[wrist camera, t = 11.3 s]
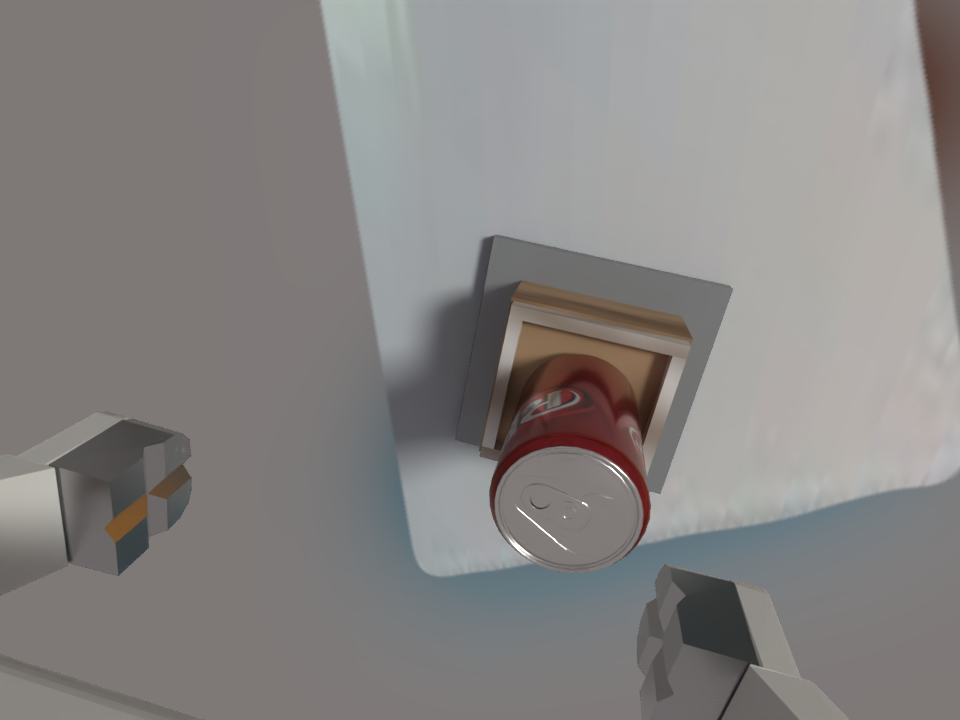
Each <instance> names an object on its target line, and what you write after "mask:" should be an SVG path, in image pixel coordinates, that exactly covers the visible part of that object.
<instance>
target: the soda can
mask: <svg viewBox="0 0 960 720" xmlns="http://www.w3.org/2000/svg"><path fill="white" fill-rule="evenodd" d="M489 495H490V508H491V512H492V516H493V519H494V521H495V523H496V526H497V528H498V530H499V532H500V533H501V534H502V536H503V537H504V539H505V540H506V541H507V543H508V544H509V545H511V546H512V547H513V548H514V549H515V550H516V551H517V552H518V553H519V554H520V555H522V556H523V557H525V558H526V559H528V560H529V561H531V562H533V563H535V564H537V565H539V566H541V567H544V568H547V569H550V570H554V571H557V572H566V573H587V572H591V571H596V570H600V569H602V568H605V567H607V566H610V565H612V564H615V563H616V562H618V561H619V560H621V559H622V558H624V557H625V556H627V555H628V554H629V553H630V552H631V551H632V550H633V549H634V548H635V547H636V546H637V544H638V543H639V541H640V540H641V538H642V536H643V535H644V533H645V531H646V528H647V525H648V522H649V520H650V509H651V503H650V496H649V489H648V481H647V474H646V467H645V459H644V452H643V445H642V437H641V430H640V423H639V415H638V408H637V401H636V396H635V393H634V391H633V388H632V386H631V384H630V383H629V381H628V380H627V378H626V376H625V375H624V374H623V373H622V372H621V371H620V370H619V369H618V368H616V367H615V366H613V365H612V364H610V363H609V362H607V361H605V360H603V359H600V358H598V357H595V356H591V355H586V354H568V355H562V356H559V357H556V358H553V359H550V360H549V361H547V362H545V363H543V364H542V365H540V366H539V367H538V368H537V369H536V370H535V371H534V372H533V373H532V374H531V375H530V377H529V378H528V379H527V381H526V383H525V385H524V387H523V389H522V392H521V395H520V398H519V400H518V403H517V406H516V409H515V412H514V415H513V418H512V421H511V424H510V427H509V430H508V433H507V436H506V439H505V442H504V445H503V448H502V451H501V453H500V456H499V459H498V462H497V465H496V468H495V471H494V474H493V477H492V481H491V486H490V491H489Z"/></svg>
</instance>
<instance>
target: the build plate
mask: <svg viewBox="0 0 960 720" xmlns="http://www.w3.org/2000/svg"><path fill="white" fill-rule="evenodd" d="M522 280H523V281H527V282H532V283H536V284H541V285H545V286H549V287H554V288H558V289H562V290H567V291H571V292H576V293H580V294H584V295H589V296H593V297H598V298H602V299H606V300H611V301H615V302H620V303H624V304H628V305H633V306H637V307H642V308H646V309H650V310H655V311H659V312H664V313H668V314H672V315H677V316H681V317H683V319H684V321H685V324H686V326H687V328H688V330H689V332H690V334H691V336H692V338H693V341H692V344H691V348H690V351H689V354H688V357H687V360H686V363H685V366H684V369H683V371H682V374H681V377H680V380H679V383H678V386H677V389H676V392H675V395H674V398H673V401H672V404H671V407H670V410H669V413H668V415H667V418H666V421H665V424H664V427H663V430H662V433H661V436H660V439H659V442H658V445H657V448H656V451H655V454H654V457H653V459H652V462H651V465H650V468H649V471H648V474H647V481H648V489H649V491H651V492H655V493H659V494H660V493H661V490H662V487H663V485H664V482H665V479H666V476H667V473H668V471H669V468H670V465H671V462H672V459H673V456H674V454H675V451H676V448H677V445H678V442H679V440H680V437H681V434H682V431H683V428H684V426H685V423H686V420H687V417H688V414H689V412H690V409H691V406H692V403H693V400H694V397H695V395H696V392H697V389H698V386H699V383H700V381H701V378H702V375H703V372H704V369H705V367H706V364H707V361H708V358H709V355H710V352H711V350H712V347H713V344H714V341H715V338H716V336H717V333H718V330H719V327H720V324H721V322H722V319H723V316H724V313H725V310H726V307H727V305H728V302H729V299H730V296H731V293H732V291H733V289H732V288H731V287H730V286H728V285H723V284H719V283H714V282H710V281H705V280H700V279H696V278H691V277H687V276H682V275H678V274H673V273H668V272H664V271H659V270H655V269H650V268H646V267H641V266H637V265H632V264H627V263H623V262H618V261H614V260H609V259H605V258H600V257H595V256H591V255H586V254H582V253H577V252H573V251H568V250H563V249H559V248H554V247H550V246H545V245H541V244H536V243H531V242H527V241H522V240H518V239H513V238H509V237H504V236H499V235H496V236H494V239H493V244H492V249H491V255H490V260H489V265H488V270H487V276H486V281H485V286H484V291H483V297H482V302H481V307H480V312H479V318H478V323H477V328H476V334H475V339H474V344H473V349H472V355H471V360H470V365H469V370H468V376H467V381H466V386H465V391H464V397H463V402H462V407H461V412H460V418H459V423H458V428H457V433H456V439H455V440H459V441H463V442H466V443H470V444H474V445H478V446H480V445H481V440H482V435H483V431H484V426H485V421H486V416H487V411H488V407H489V402H490V397H491V392H492V388H493V383H494V378H495V373H496V369H497V364H498V359H499V354H500V349H501V345H502V340H503V335H504V330H505V326H506V321H507V316H508V311H509V306H510V302H511V297H512V295H513V294H514V292H515V291H516V289H517V288H518V286H519V284H520V283H521V281H522Z"/></svg>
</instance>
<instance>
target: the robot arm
mask: <svg viewBox="0 0 960 720" xmlns="http://www.w3.org/2000/svg"><path fill="white" fill-rule="evenodd" d="M189 457H191V451H190V439H189V438H187V437H186V436H185V435H184V434H182V433H178V432H175V431H172V430H169V429H165V428H162V427H159V426H155V425H152V424H148V423H145V422H142V421H138V420H135V419H129V418H127V417H123V416H119V415H116V414H113V413H109V412H96V413H94V414H92V415H90V416H89V417H87V418H85V419H84V420H81V421H80V422H78V423H76V424H74V425H72V426H71V427H69V428H67V429H65V430H63V431H62V432H60V433H58V434H56V435H54V436H53V437H51V438H49V439H47V440H46V441H44V442H42V443H40V444H38V445H37V446H35V447H33V448H31V449H29V450H28V451H26V452H24V453H22V454H20V455H19V456H17V457H16V456H12V455H8V454H7V455H2V456H0V596H1V595H3V594H5V593H8V592H10V591H12V590H15V589H17V588H19V587H21V586H24V585H26V584H28V583H30V582H33V581H35V580H37V579H39V578H41V577H44V576H46V575H48V574H51V573H53V572H55V571H57V570H59V569H62V568H64V567H66V566H68V563H71V564H75V565H78V566H82V567H86V568H90V569H93V570H97V571H101V572H105V573H108V574H112V575H116V576H119V575H120V574H121V573H122V572H123V571H124V570H125V569H127V568H128V566H130V565H131V564H132V563H133V562H134V561H135V560H136V559H137V558H139V557H140V556H141V555H142V554H143V553H144V552H145V551H146V550H147V549H148V548H149V539H150V536H153V535H156V534H158V533H161V532H164V531H167V530H169V529H170V528H171V527H172V526H173V525H174V524H175V523H176V522H177V520H179V519H180V517H181V515H182V514H183V512H184V510H185V508H186V506H187V505H188V502H189V499H190V494H191V490H192V485H191V484H192V480H191V479H192V478H191V476H190V475H189V473H188V472H187V470H186V468H185V467H184V465H183V464H184V463H185V462H186V461H187V460H188V459H189ZM655 588H656V599H654V600H652V601H651V602H649V603H647V604H646V606H645V609H644V612H643V615H642V618H641V621H640V626H639V631H638V636H637V662H638V663H637V664H638V667H639V668H640V670H641V671H642V673H643V674H644V675H645V677H646V678H645V680H644V683H643V685H642V687H641V690H640V701H641V711H642V720H849V719H848V718H847V717H846V716H845V715H844V714H843V713H842V712H841V711H840V710H839V709H838V708H837V707H836V705H834V704H833V703H832V701H830V699H829V698H827V696H825V694H824V693H822V691H821V690H820V689H819V688H818V687H817V686H816V685H815V684H814V683H813V682H811V681H808V680H805V679H801V677H800V674H799V672H798V669H797V666H796V664H795V662H794V659H793V656H792V654H791V651H790V648H789V646H788V643H787V640H786V638H785V635H784V633H783V630H782V628H781V625H780V623H779V620H778V617H777V615H776V612H775V610H774V607H773V604H772V602H771V599H770V596H769V594H768V592H767V591H765V589H763V588H761V587H757V586H753V585H749V584H745V583H741V582H736V581H733V580H729V581H728V580H724V579H720V578H716V577H713V576H709V575H705V574H701V573H698V572H694V571H690V570H686V569H683V568H679V567H675V566H671V565H667V564H664V566H663V567H662V568H661V569H660V571H659V573H658V576H657V578H656V581H655ZM0 720H203V719H199V718H197V717H194V716H191V715H188V714H184V713H181V712H178V711H175V710H172V709H169V708H166V707H163V706H159V705H156V704H153V703H151V702H147V701H144V700H141V699H138V698H135V697H132V696H129V695H126V694H123V693H120V692H116V691H113V690H110V689H107V688H104V687H101V686H98V685H95V684H92V683H89V682H86V681H82V680H79V679H76V678H73V677H70V676H67V675H64V674H61V673H58V672H54V671H51V670H48V669H45V668H42V667H39V666H36V665H33V664H29V663H27V662H23V661H20V660H17V659H14V658H11V657H8V656H5V655H2V654H0Z"/></svg>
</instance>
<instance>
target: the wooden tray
mask: <svg viewBox="0 0 960 720" xmlns="http://www.w3.org/2000/svg"><path fill="white" fill-rule="evenodd" d="M692 341H693V338H692V336H691V334H690V332H689V330H688V328H687V326H686V324H685V321H684V319H683V317H681V316H677V315H672V314H668V313H664V312H659V311H655V310H650V309H646V308H642V307H637V306H633V305H628V304H624V303H620V302H615V301H611V300H606V299H602V298H598V297H593V296H589V295H584V294H580V293H576V292H571V291H567V290H562V289H558V288H554V287H549V286H545V285H541V284H536V283H532V282H527V281H523V280H522V281H521V283H520V284H519V286H518V288H517V289H516V291H515V292H514V294H513V295H512V297H511V302H510V306H509V311H508V316H507V321H506V326H505V330H504V335H503V340H502V345H501V349H500V354H499V359H498V364H497V369H496V373H495V378H494V383H493V388H492V392H491V397H490V402H489V407H488V411H487V416H486V421H485V426H484V431H483V435H482V440H481V445H480V450H479V451H481V453H480V457H484V458H488V459H491V460H495V461H498V459H499V456H500V453H501V451H502V448H503V445H504V442H505V439H506V436H507V433H508V430H509V427H510V424H511V421H512V418H513V415H514V412H515V409H516V406H517V403H518V400H519V398H520V395H521V392H522V389H523V387H524V385H525V383H526V381H527V379H528V378H529V377H530V375H531V374H532V373H533V372H534V371H535V370H536V369H537V368H538V367H539V366H540V365H542V364H543V363H545V362H547V361H549V360H550V359H553V358H556V357H559V356H562V355H568V354H586V355H591V356H595V357H598V358H600V359H603V360H605V361H607V362H609V363H610V364H612V365H613V366H615V367H616V368H618V369H619V370H620V371H621V372H622V373H623V374H624V375H625V376H626V378H627V380H628V381H629V383H630V384H631V386H632V388H633V391H634V393H635V396H636V401H637V408H638V415H639V423H640V430H641V437H642V445H643V452H644V459H645V467H646V474H648V471H649V468H650V465H651V462H652V459H653V457H654V454H655V451H656V448H657V445H658V442H659V439H660V436H661V433H662V430H663V427H664V424H665V421H666V418H667V415H668V413H669V410H670V407H671V404H672V401H673V398H674V395H675V392H676V389H677V386H678V383H679V380H680V377H681V374H682V371H683V369H684V366H685V363H686V360H687V357H688V354H689V351H690V348H691V344H692Z"/></svg>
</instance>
